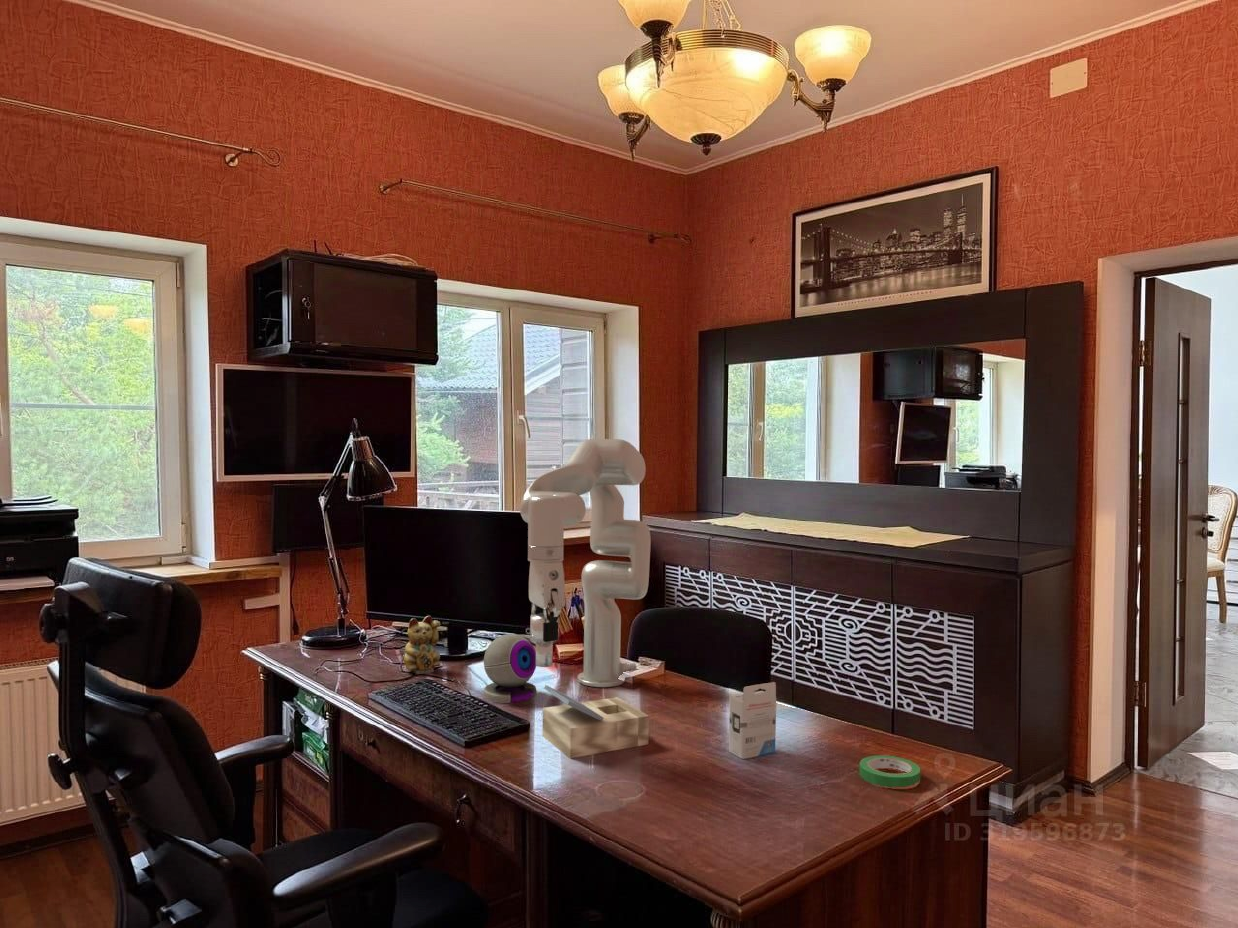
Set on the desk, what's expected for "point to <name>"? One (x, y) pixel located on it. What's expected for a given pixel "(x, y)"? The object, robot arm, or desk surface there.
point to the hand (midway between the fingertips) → (544, 636)
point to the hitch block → (595, 727)
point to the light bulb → (541, 641)
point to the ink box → (753, 721)
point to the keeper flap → (573, 703)
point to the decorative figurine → (422, 646)
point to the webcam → (509, 669)
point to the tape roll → (889, 779)
